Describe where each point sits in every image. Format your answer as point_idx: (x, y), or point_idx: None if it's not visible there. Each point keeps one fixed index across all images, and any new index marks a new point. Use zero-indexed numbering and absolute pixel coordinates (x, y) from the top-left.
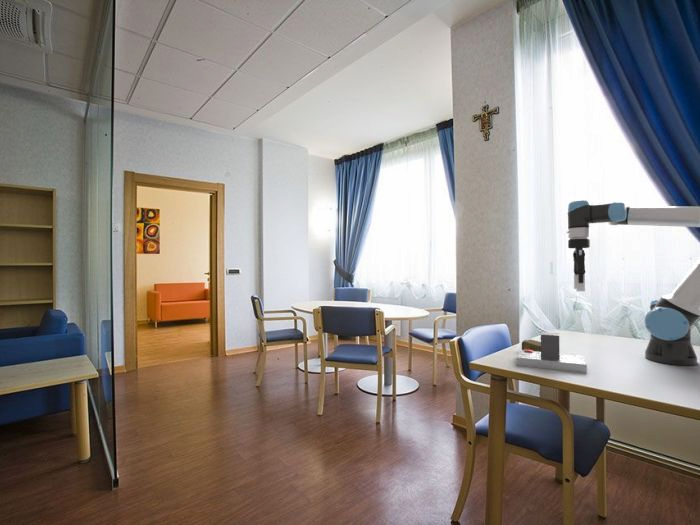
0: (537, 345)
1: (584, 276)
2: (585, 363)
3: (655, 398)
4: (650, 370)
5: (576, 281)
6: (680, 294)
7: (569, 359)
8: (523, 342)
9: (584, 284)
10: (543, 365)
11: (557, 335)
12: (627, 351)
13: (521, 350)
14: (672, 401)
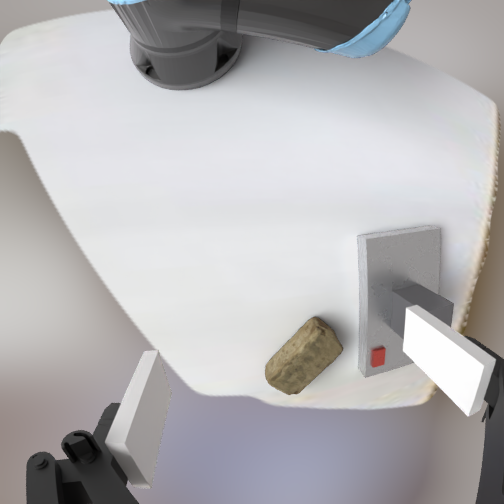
0: (339, 353)
1: (486, 354)
2: (432, 230)
3: (490, 136)
4: (334, 94)
5: (157, 419)
6: None
7: (414, 265)
8: (300, 390)
9: (445, 326)
10: None
11: (450, 308)
12: (123, 132)
13: (370, 371)
14: (489, 118)
